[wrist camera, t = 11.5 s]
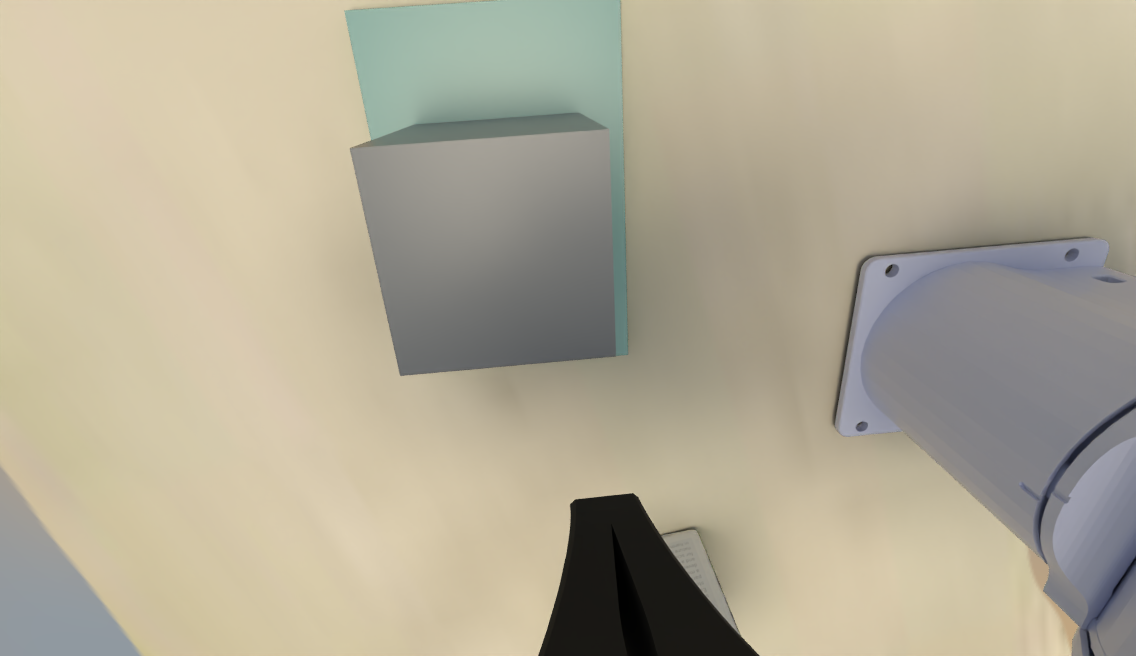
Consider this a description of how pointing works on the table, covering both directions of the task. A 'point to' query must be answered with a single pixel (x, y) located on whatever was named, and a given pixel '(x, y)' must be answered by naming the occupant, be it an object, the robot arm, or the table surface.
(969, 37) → the table surface
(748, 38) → the table surface
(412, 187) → the dark grey block
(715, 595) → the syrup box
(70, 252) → the table surface
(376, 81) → the teal base stand
